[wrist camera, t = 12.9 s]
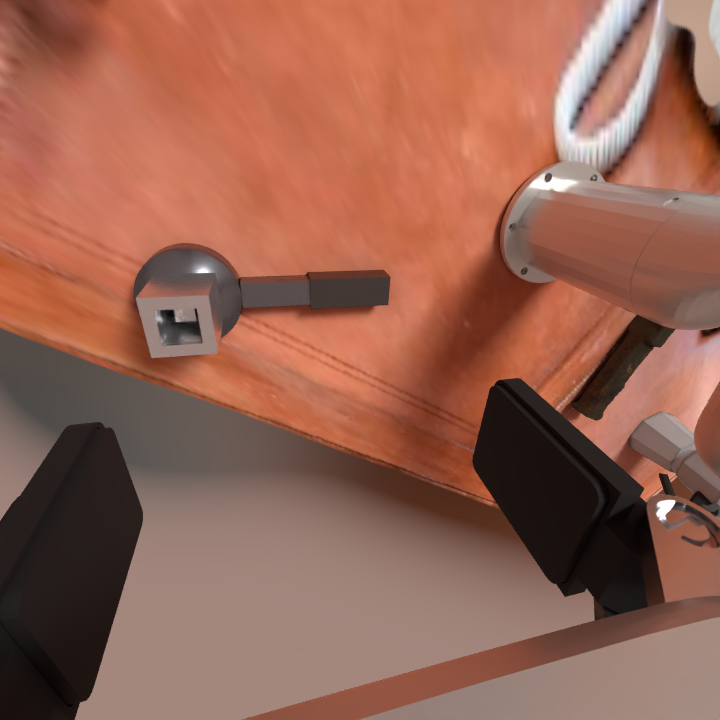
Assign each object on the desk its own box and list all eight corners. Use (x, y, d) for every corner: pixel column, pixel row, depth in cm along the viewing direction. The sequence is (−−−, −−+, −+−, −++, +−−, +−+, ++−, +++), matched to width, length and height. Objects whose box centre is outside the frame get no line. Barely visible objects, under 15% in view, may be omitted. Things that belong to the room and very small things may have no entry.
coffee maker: (686, 397, 63) (821, 477, 48) (681, 431, 68) (803, 514, 53) (606, 436, 64) (715, 529, 48) (607, 468, 68) (707, 560, 53)
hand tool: (583, 408, 59) (606, 427, 55) (566, 403, 57) (589, 422, 53) (668, 299, 52) (702, 312, 48) (651, 290, 50) (684, 302, 46)
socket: (215, 272, 34) (208, 295, 29) (223, 324, 36) (217, 353, 31) (154, 274, 33) (135, 298, 27) (166, 327, 35) (151, 358, 30)
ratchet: (385, 240, 38) (403, 254, 34) (379, 322, 43) (394, 343, 38) (130, 243, 33) (109, 260, 29) (153, 336, 38) (139, 363, 33)
